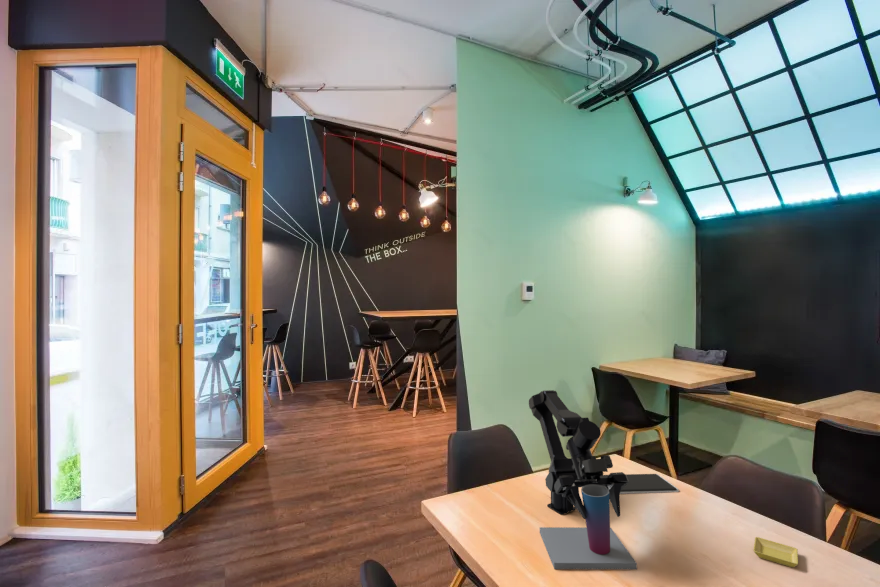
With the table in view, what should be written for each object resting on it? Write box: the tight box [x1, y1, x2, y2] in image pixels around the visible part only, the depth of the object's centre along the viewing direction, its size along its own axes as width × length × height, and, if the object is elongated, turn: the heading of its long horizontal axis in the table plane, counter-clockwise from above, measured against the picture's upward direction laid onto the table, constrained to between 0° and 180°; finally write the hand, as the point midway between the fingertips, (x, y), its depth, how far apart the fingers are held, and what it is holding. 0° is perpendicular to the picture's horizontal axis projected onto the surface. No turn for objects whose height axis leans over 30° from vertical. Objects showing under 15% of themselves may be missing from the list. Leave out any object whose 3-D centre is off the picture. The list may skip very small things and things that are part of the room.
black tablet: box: [600, 473, 680, 495], centre depth 148 cm, size 13×27×2 cm, turn 93°
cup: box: [580, 484, 611, 554], centre depth 107 cm, size 7×7×15 cm
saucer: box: [752, 536, 799, 568], centre depth 106 cm, size 9×9×2 cm
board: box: [539, 526, 638, 570], centre depth 109 cm, size 20×16×2 cm
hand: (602, 517), depth 105 cm, fingers open, 8 cm apart
